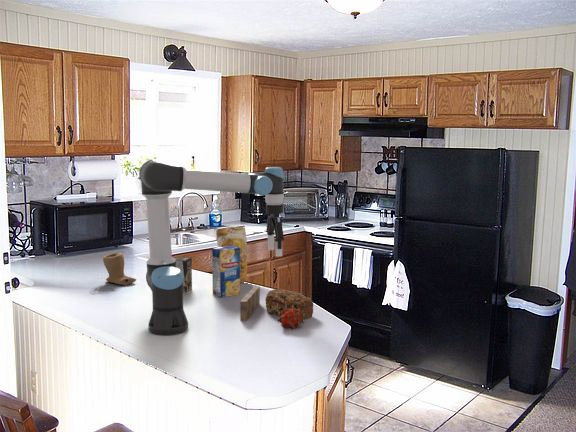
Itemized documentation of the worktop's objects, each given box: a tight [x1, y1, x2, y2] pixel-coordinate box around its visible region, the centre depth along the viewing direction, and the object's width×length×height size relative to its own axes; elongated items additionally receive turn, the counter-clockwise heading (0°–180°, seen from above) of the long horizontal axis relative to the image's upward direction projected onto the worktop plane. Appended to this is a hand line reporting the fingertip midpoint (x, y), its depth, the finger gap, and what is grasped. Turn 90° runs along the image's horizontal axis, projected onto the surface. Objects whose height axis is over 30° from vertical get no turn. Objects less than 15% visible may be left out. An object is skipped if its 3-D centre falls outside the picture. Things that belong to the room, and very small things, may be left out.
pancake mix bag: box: [215, 225, 248, 283], centre depth 310 cm, size 7×19×28 cm, turn 129°
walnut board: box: [239, 286, 261, 322], centre depth 262 cm, size 24×2×8 cm, turn 170°
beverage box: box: [211, 245, 241, 298], centre depth 288 cm, size 7×11×22 cm, turn 129°
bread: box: [265, 288, 314, 319], centre depth 259 cm, size 19×11×10 cm, turn 46°
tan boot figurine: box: [102, 252, 137, 286], centre depth 307 cm, size 15×12×15 cm
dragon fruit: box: [277, 307, 306, 330], centre depth 243 cm, size 8×8×12 cm
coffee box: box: [175, 256, 193, 296], centre depth 291 cm, size 9×6×16 cm
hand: (274, 253), depth 264 cm, fingers open, 13 cm apart
